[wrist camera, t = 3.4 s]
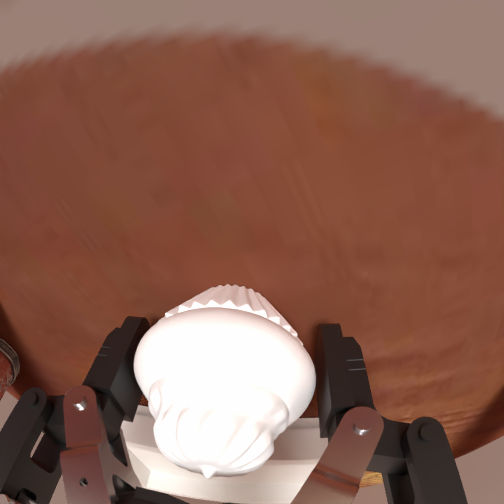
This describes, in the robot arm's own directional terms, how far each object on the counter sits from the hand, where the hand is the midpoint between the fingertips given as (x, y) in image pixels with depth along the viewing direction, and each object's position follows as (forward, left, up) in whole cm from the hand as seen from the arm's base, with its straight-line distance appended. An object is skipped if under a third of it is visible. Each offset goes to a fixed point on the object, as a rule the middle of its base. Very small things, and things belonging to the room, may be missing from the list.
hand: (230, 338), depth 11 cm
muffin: (0, 0, -2) cm, 2 cm away
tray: (+2, +17, -1) cm, 17 cm away
